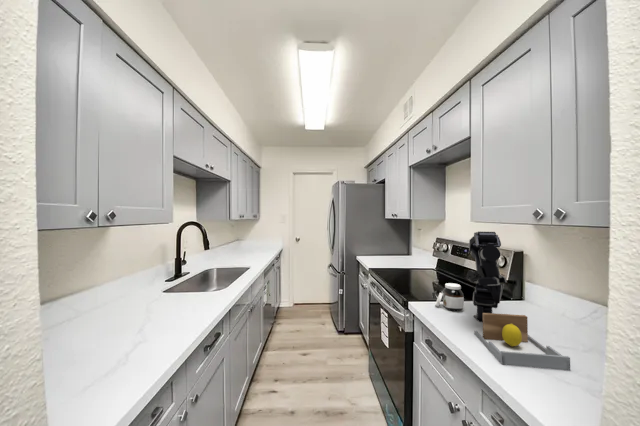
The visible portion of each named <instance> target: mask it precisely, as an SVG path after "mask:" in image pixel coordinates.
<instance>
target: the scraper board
mask: <svg viewBox="0 0 640 426" xmlns="http://www.w3.org/2000/svg"><path fill="white" fill-rule="evenodd" d="M507 324H513V325H515V326H516V327H518V328H519V330H520V332H521V335H522V341H521V343H528V341H529V340H528V335H529V334H528V333H529V332H528V330H529V329H528V316H526V315H525V314H511V313H509V314H507V313H493V312H492V313H483V322H482V337H483V338H484V339H485V340H491V341H492V340H493V341H504V339H503V337H502V330H503V327H504V326H505V325H507ZM504 342H505V341H504Z"/></svg>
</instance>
